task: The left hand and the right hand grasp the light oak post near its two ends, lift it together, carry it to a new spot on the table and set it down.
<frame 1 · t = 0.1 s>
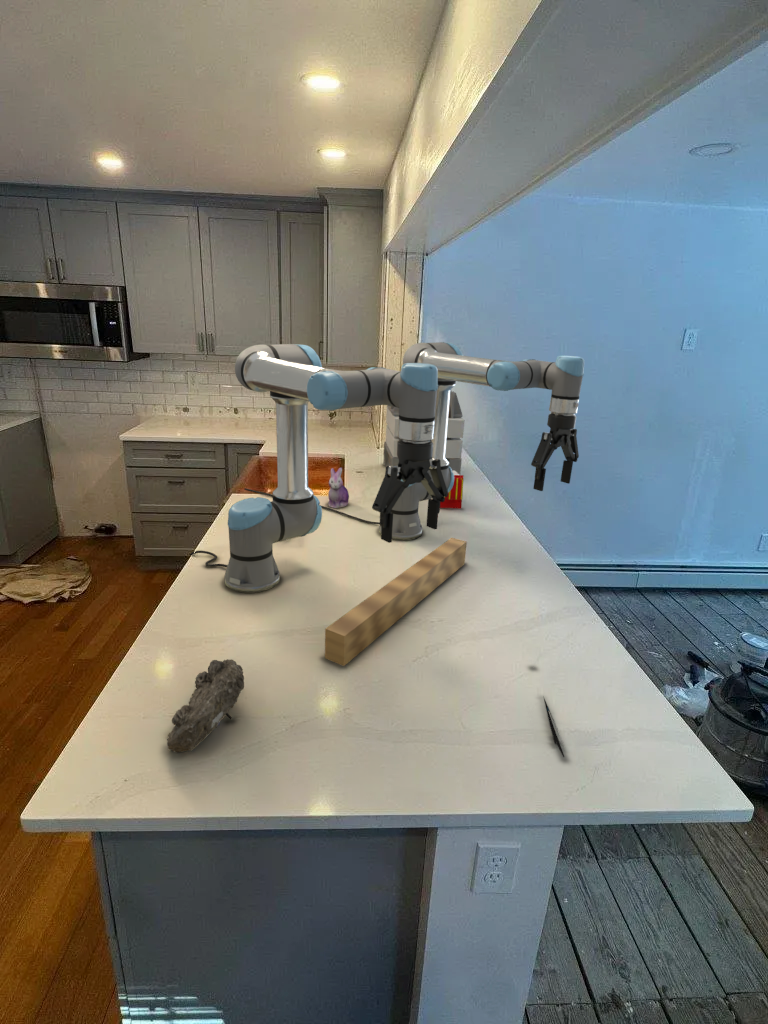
left hand: (409, 534, 126), 28 cm above the counter, tool pointing down, fingers open, 13 cm apart
right hand: (551, 486, 166), 28 cm above the counter, tool pointing down, fingers open, 13 cm apart
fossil: (212, 717, 108), on the counter
post: (406, 603, 153), on the counter
figurine: (338, 505, 226), on the counter
feather: (546, 709, 114), on the counter
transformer: (419, 473, 275), on the counter
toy: (445, 498, 240), on the counter
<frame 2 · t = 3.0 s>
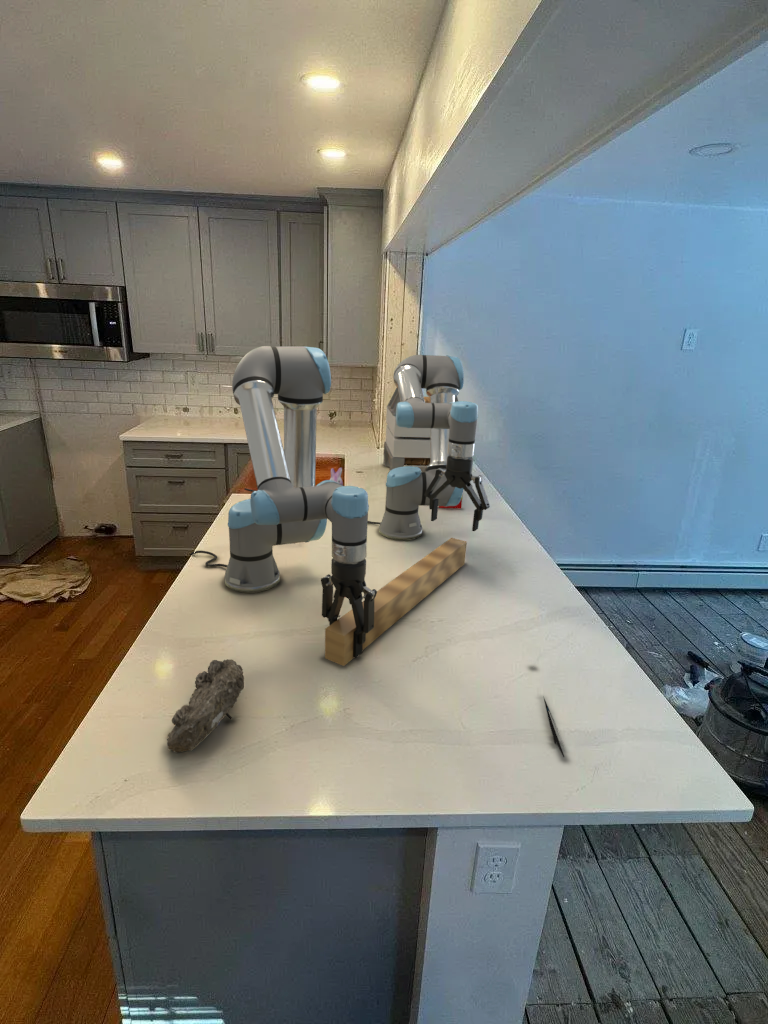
left hand: (346, 650, 130), 1 cm above the counter, tool pointing down, fingers closed on post, 5 cm apart
right hand: (454, 524, 171), 14 cm above the counter, tool pointing down, fingers open, 13 cm apart
post: (406, 603, 153), on the counter, touching left hand
everything else where it was.
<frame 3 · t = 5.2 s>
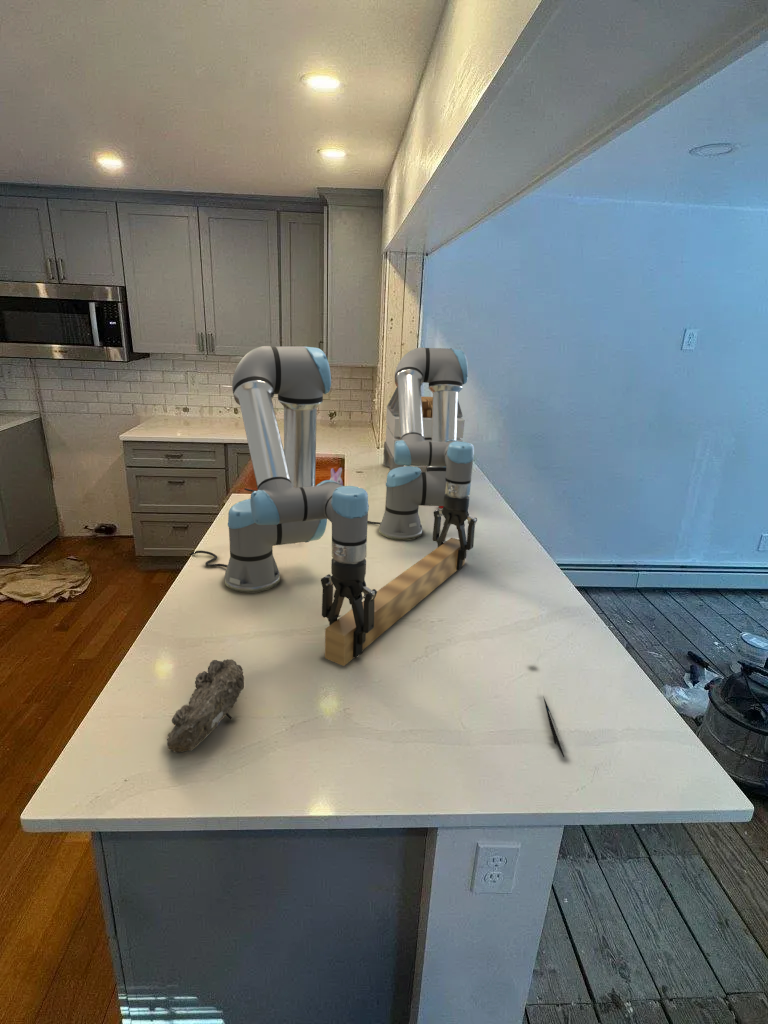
left hand: (346, 650, 130), 1 cm above the counter, tool pointing down, fingers closed on post, 5 cm apart
right hand: (450, 565, 176), 0 cm above the counter, tool pointing down, fingers closed on post, 5 cm apart
post: (406, 603, 153), on the counter, touching right hand, left hand
everything else where it was.
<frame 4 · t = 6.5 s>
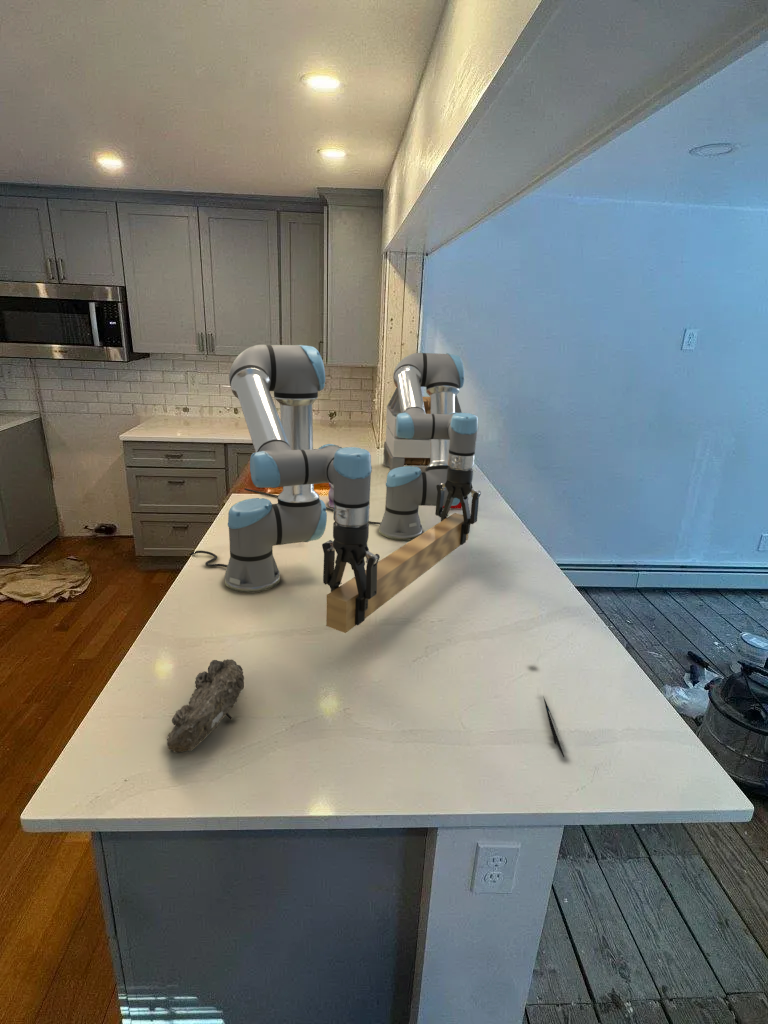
left hand: (348, 618, 127), 9 cm above the counter, tool pointing down, fingers closed on post, 5 cm apart
right hand: (453, 540, 173), 9 cm above the counter, tool pointing down, fingers closed on post, 5 cm apart
post: (409, 575, 150), point 8 cm above the counter, touching right hand, left hand
everything else where it was.
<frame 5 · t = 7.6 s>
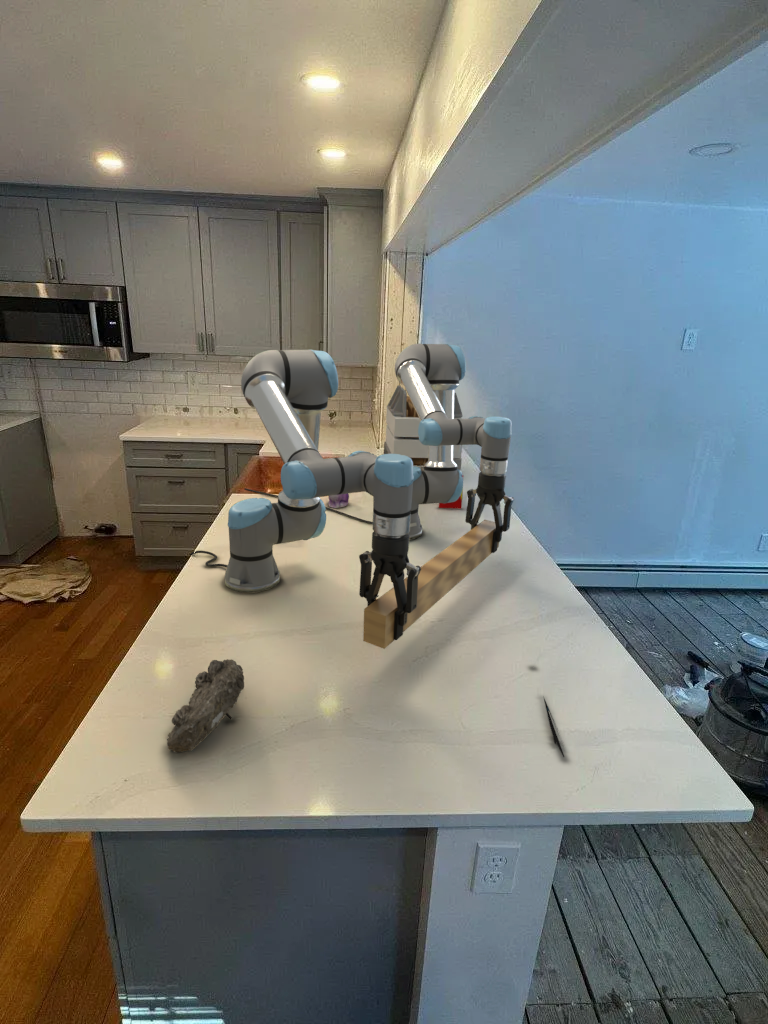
left hand: (386, 632, 121), 9 cm above the counter, tool pointing down, fingers closed on post, 5 cm apart
right hand: (484, 548, 167), 9 cm above the counter, tool pointing down, fingers closed on post, 5 cm apart
post: (442, 585, 144), point 9 cm above the counter, touching right hand, left hand
everything else where it was.
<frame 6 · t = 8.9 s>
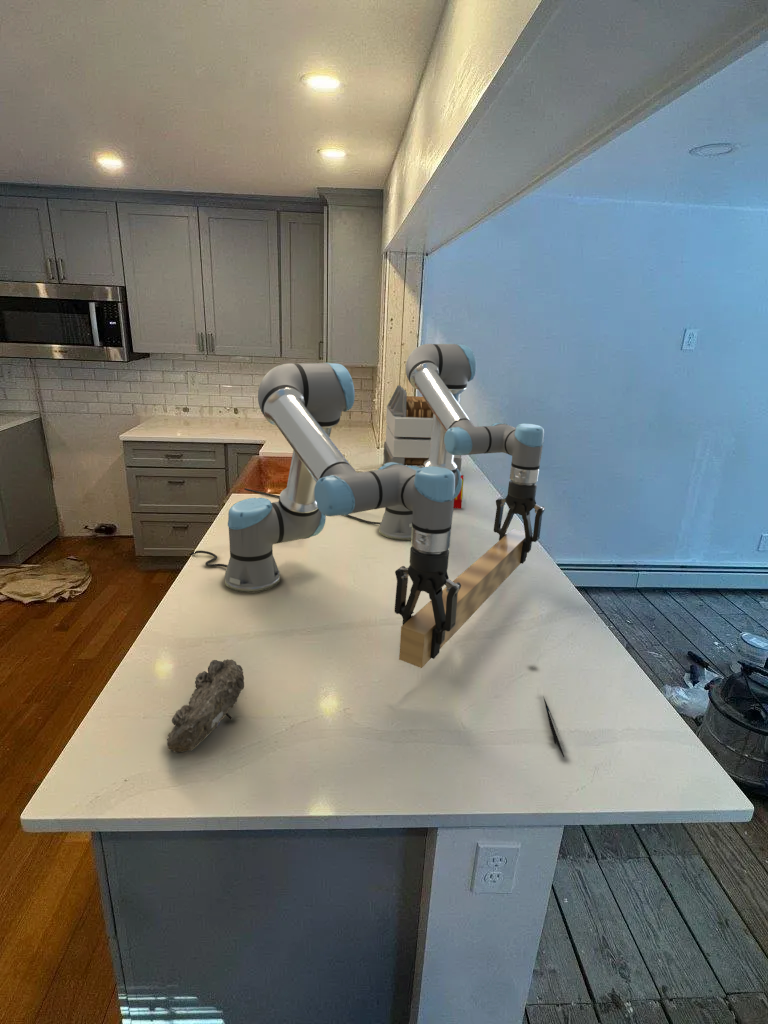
left hand: (421, 650, 117), 9 cm above the counter, tool pointing down, fingers closed on post, 5 cm apart
right hand: (512, 558, 163), 9 cm above the counter, tool pointing down, fingers closed on post, 5 cm apart
post: (474, 599, 140), point 8 cm above the counter, touching right hand, left hand
everything else where it was.
when the left hand's fingers open (1 cm above the counter, at t = 10.1 s): post stays where it is, on the counter.
when the right hand's fingers open (2 cm above the counter, at t = 10.1 s): post stays where it is, on the counter.
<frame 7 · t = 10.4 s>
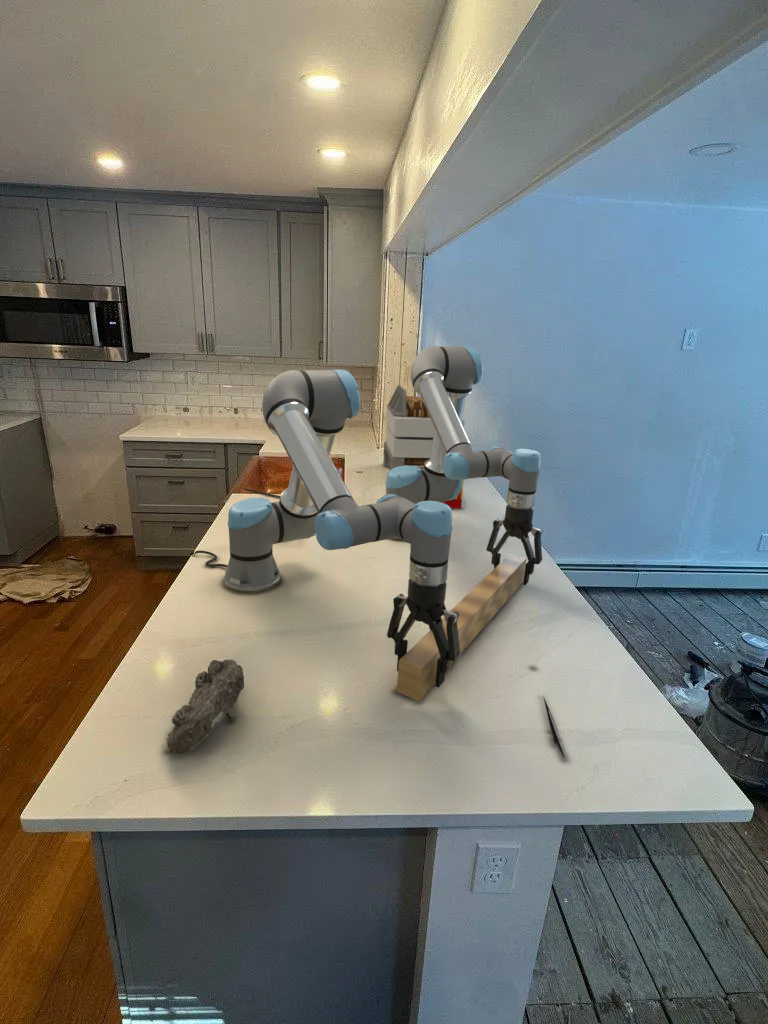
left hand: (420, 676, 119), 2 cm above the counter, tool pointing down, fingers open, 8 cm apart
right hand: (510, 579, 165), 2 cm above the counter, tool pointing down, fingers open, 8 cm apart
post: (471, 627, 143), on the counter
everything else where it was.
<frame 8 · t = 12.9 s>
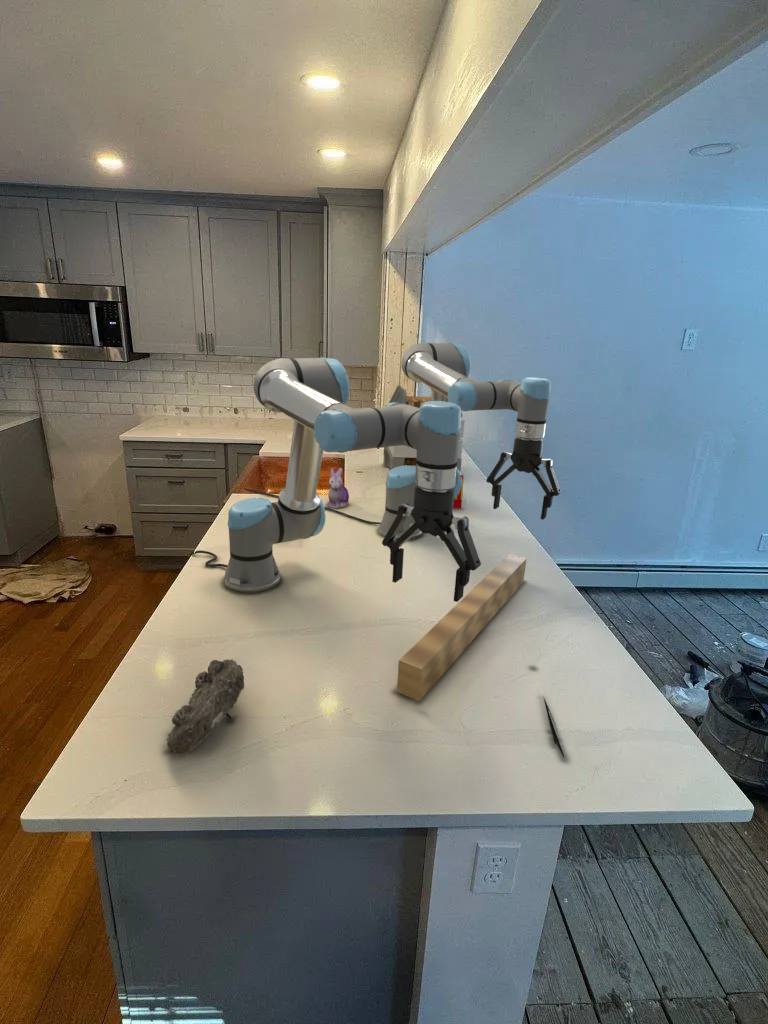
left hand: (426, 589, 112), 23 cm above the counter, tool pointing down, fingers open, 13 cm apart
right hand: (519, 512, 158), 23 cm above the counter, tool pointing down, fingers open, 13 cm apart
nothing on the counter moved.
at the end: post inside the target area (0.1 cm from its centre), on the counter; post tilted 0°; post never tilted more than 1° during the clip; both hands held the post at the same time; the left hand is holding nothing; the right hand is holding nothing; post at rest at the end (0.0 cm/s) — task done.
